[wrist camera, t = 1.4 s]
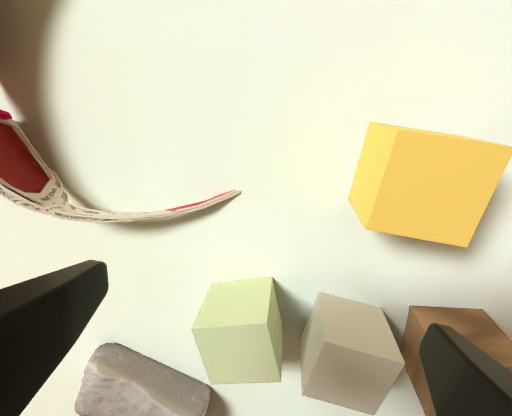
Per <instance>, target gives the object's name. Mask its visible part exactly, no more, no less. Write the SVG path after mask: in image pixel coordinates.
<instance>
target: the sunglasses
mask: <svg viewBox="0 0 512 416" xmlns="http://www.w3.org/2000/svg"><path fill="white" fill-rule="evenodd" d="M53 186H54V187H57V188H54V187H53ZM55 189H56V190H55ZM51 190H52V192H50V191H51ZM1 192H2V193H1ZM3 193H4V194H3ZM51 193H52V194H51ZM239 194H241V190H233V191H230V192H227V193H224V194H221V195H218V196H215V197H212V198H210V199H208V200H205V201H201V202H198V203H194V204H190V205H185V206H181V207H177V208H172V209H166V210H159V211H153V212H108V211H100V210H95V209H89V208H84V207H81V206H78V205H75V204H72V203H69V202H68V197H67V194H66V193H65V192H64V187H63V183H62V181H61V180H60V178H59V177H58V175H57V174H56V173H55V172H54V171H53V170H52V169H51V168H50V167H48V166H47V165H46V162H44V161H43V160H42V159H41V156H40V155H39V154H38V152H37V151H36V150H35V149H34V148H33V146H32V145H31V143H30V141H29V140H28V138H27V137H26V135H25V134H24V132H23V131H22V129H21V127H20V125H19V124H18V122H16V121H14V120H12V116H11V115H10V113H9V112H6V111H3V110H0V195H1V196H3V197H5V198H7V199H8V200H10V201H12V202H13V203H15V204H17V205H20V206H22V207H25V208H27V209H30V210H32V211H35V212H38V213H43V214H48V215H52V216H54V217H57V218H61V219H68V220H76V221H86V222H96V223H112V222H133V221H141V220H149V219H156V218H166V217H171V216H175V215H180V214H184V213H188V212H192V211H196V210H200V209H204V208H206V207H209V206H211V205H214V204H217V203H219V202H222V201H224V200H226V199H229V198H231V197H234V196H236V195H239ZM48 195H49V196H48ZM62 197H63V198H62ZM75 208H78V209H81V210H83V211H77V210H76V209H75ZM85 210H86V211H91V212H94V213H89V212H85ZM95 213H99V214H95Z"/></svg>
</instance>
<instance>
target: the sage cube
mask: <svg viewBox="0 0 512 416" xmlns="http://www.w3.org/2000/svg"><path fill="white" fill-rule="evenodd" d="M191 329H192V332H193V335H194V338H195V341H196V344H197V346H198V349H199V352H200V355H201V358H202V360H203V363H204V366H205V369H206V372H207V375H208V377H209V380H210V383H211V384H239V383H268V382H281V369H282V346H283V324H282V319H281V315H280V310H279V306H278V301H277V296H276V292H275V287H274V283H273V278H272V277H267V278H257V279H248V280H238V281H229V282H219V283H212V284H211V286H210V288H209V291H208V293H207V295H206V297H205V300H204V302H203V304H202V306H201V308H200V311H199V313H198V315H197V317H196V320H195V322H194V324H193V326H192V328H191Z"/></svg>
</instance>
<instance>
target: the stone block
mask: <svg viewBox="0 0 512 416" xmlns="http://www.w3.org/2000/svg"><path fill="white" fill-rule="evenodd" d="M210 393H211V388H210V387H209V386H208V385H206V384H205V383H203V382H201V381H198V380H196V379H194V378H192V377H190V376H188V375H185V374H183V373H181V372H179V371H177V370H175V369H172V368H170V367H168V366H166V365H164V364H162V363H159V362H157V361H155V360H153V359H151V358H148V357H146V356H144V355H141V354H140V353H138V352H136V351H134V350H132V349H129V348H127V347H125V346H122V345H118V344H112V343H110V344H109V343H106V344H104V345H101V346H99V347H98V348H97V349H96V350H95V352H94V353H93V355H92V356H91V358H90V359H89V361H88V363H87V365H86V368H85V371H84V377H83V379H82V385H81V388H80V391H79V394H78V397H77V399H76V402H75V412H76V413H77V414H79V415H80V416H205V415H206V412H207V409H208V405H209V399H210Z"/></svg>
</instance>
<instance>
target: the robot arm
mask: <svg viewBox="0 0 512 416" xmlns="http://www.w3.org/2000/svg"><path fill="white" fill-rule="evenodd" d="M107 291H108V274H107V265H106V264H105V263H104V262H101V261H96V260H88V261H85V262H82V263H79V264H76V265H73V266H70V267H67V268H64V269H61V270H58V271H54V272H51V273H48V274H45V275H42V276H39V277H36V278H33V279H30V280H27V281H24V282H21V283H18V284H15V285H12V286H9V287H6V288H3V289H0V416H19V415H20V414H21V413H22V411H23V410H24V409H25V408H26V406H27V405H28V404H29V402H30V401H31V400H32V399H33V397H34V396H35V395H36V393H37V392H38V391H39V389H40V388H41V387H42V386H43V384H44V383H45V382H46V380H47V379H48V378H49V376H50V375H51V374H52V373H53V371H54V370H55V369H56V367H57V366H58V365H59V364H60V362H61V361H62V360H63V358H64V357H65V356H66V354H67V353H68V352H69V350H70V349H71V348H72V346H73V345H74V344H75V342H76V341H77V339H78V338H79V336H80V335H81V333H82V332H83V330H84V329H85V327H86V325H87V324H88V322H89V321H90V319H91V318H92V316H93V314H94V313H95V311H96V310H97V308H98V306H99V305H100V303H101V302H102V300H103V299H104V297H105V295H106V293H107ZM419 354H420V358H421V362H422V366H423V370H424V373H425V377H426V381H427V384H428V388H429V392H430V396H431V399H432V403H433V407H434V410H435V413H436V416H512V371H511V370H509V369H508V368H507V367H505V366H504V365H502V364H501V363H500V362H498V361H497V360H496V359H494V358H493V357H492V356H490V355H489V354H487V353H486V352H485V351H483V350H482V349H481V348H479V347H478V346H477V345H475V344H474V343H473V342H471V341H470V340H468V339H467V338H466V337H464V336H463V335H462V334H460V333H459V332H458V331H456V330H455V329H454V328H452V327H451V326H449V325H445V324H440V323H431V324H430V325H429V326H428V328H427V330H426V332H425V334H424V337H423V339H422V341H421V343H420V346H419Z"/></svg>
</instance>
